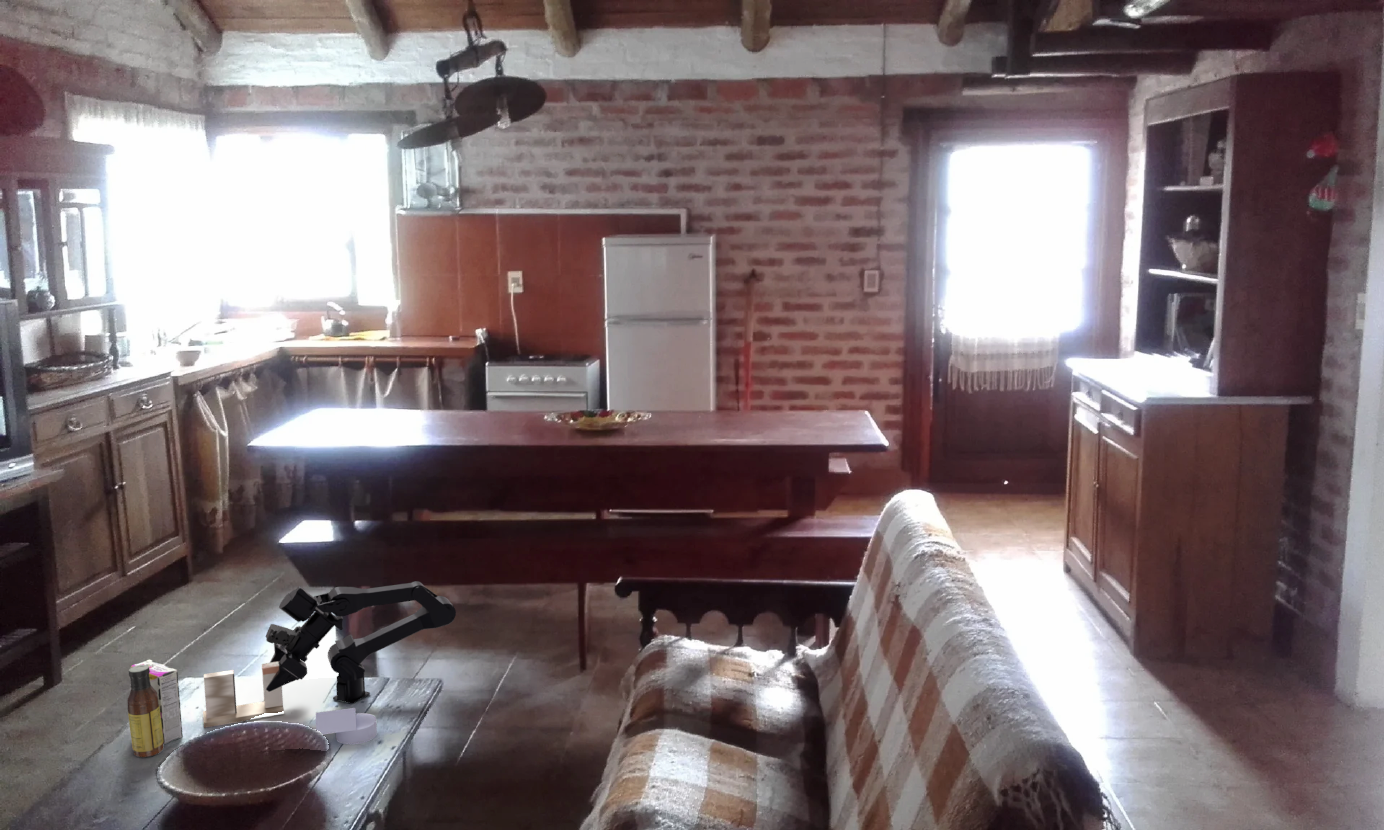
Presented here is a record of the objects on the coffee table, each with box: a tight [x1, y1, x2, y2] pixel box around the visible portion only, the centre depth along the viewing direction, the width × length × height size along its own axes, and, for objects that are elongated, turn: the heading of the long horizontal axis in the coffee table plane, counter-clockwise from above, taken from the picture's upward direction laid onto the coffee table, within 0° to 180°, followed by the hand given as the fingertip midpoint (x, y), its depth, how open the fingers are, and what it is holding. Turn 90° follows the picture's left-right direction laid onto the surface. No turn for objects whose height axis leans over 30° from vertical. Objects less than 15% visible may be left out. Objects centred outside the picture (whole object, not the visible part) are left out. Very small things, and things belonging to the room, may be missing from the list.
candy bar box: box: [130, 659, 184, 745], centre depth 249 cm, size 11×5×16 cm, turn 58°
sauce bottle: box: [127, 665, 164, 758], centre depth 240 cm, size 6×6×20 cm
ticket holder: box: [202, 669, 285, 729], centre depth 260 cm, size 18×7×11 cm, turn 115°
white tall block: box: [261, 661, 284, 708], centre depth 262 cm, size 4×3×10 cm
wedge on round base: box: [315, 707, 378, 745], centre depth 250 cm, size 9×7×13 cm
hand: (266, 683), depth 262 cm, fingers open, 9 cm apart
